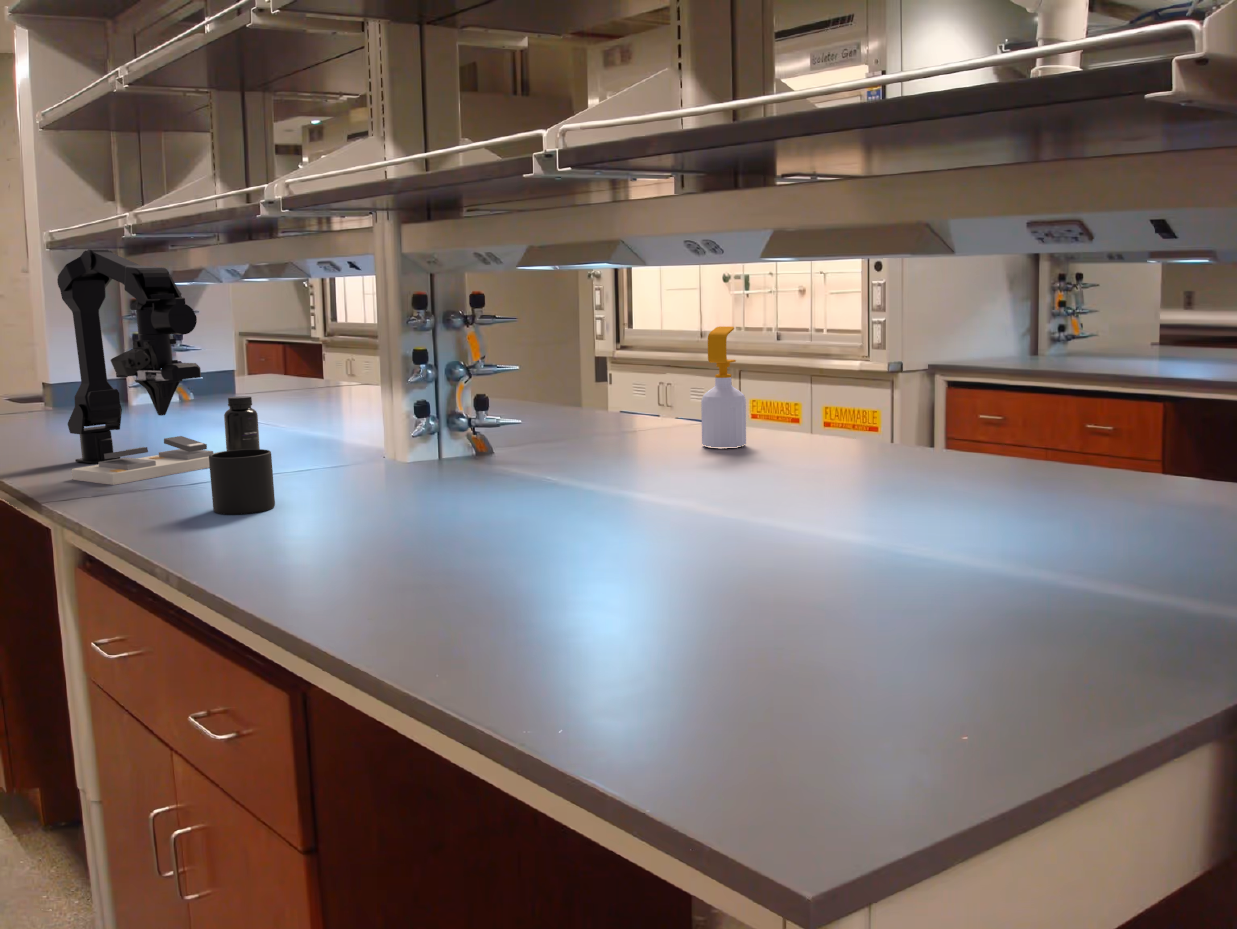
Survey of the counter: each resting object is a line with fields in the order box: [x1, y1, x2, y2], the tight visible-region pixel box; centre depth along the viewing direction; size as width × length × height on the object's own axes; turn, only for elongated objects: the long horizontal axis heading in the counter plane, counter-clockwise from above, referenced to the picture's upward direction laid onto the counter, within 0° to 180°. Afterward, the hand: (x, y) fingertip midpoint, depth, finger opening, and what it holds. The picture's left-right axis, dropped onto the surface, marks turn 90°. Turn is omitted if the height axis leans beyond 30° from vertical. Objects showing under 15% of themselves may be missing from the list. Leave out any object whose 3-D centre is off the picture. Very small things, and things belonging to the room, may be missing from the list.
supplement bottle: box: [223, 395, 261, 451], centre depth 241 cm, size 7×7×12 cm
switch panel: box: [71, 448, 215, 486], centre depth 220 cm, size 13×25×3 cm, turn 147°
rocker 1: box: [104, 446, 149, 459], centre depth 215 cm, size 8×4×1 cm, turn 57°
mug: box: [209, 448, 276, 516], centre depth 181 cm, size 9×12×9 cm
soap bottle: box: [700, 326, 747, 447], centre depth 232 cm, size 9×9×25 cm
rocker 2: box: [163, 435, 208, 452], centre depth 225 cm, size 8×4×1 cm, turn 57°
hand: (161, 415), depth 218 cm, fingers closed
